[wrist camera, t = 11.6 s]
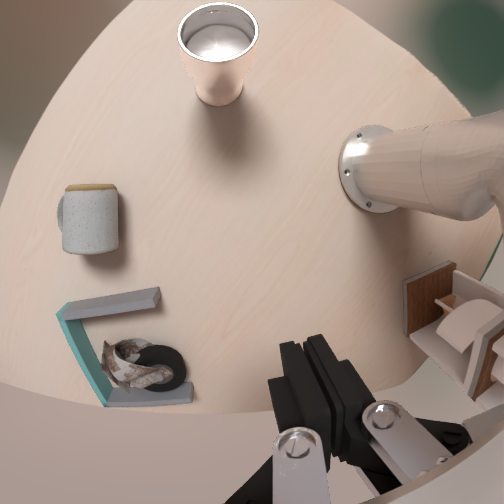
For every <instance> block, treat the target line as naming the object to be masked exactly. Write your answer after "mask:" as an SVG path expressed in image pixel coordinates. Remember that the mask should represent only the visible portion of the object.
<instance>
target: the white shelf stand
mask: <svg viewBox="0 0 504 504" xmlns="http://www.w3.org/2000/svg"><path fill="white" fill-rule="evenodd" d="M403 301H404V334H406V335H407V336H408V337H409V338H410V339H411V340H412V341H413V342H414V343H415V344H416V345H417V346H418V347H419V348H420V349H422V350H423V351H424V352H425V353H426V354H427V355H428V356H429V357H430V358H431V359H432V360H433V361H434V362H435V363H436V364H437V365H438V366H439V367H440V368H441V369H442V370H443V371H444V372H445V373H446V374H448V376H449V377H450V378H451V379H453V380H454V381H455V382H456V383H457V385H459V386H460V388H462V390H463V391H464V392H466V394H467V395H468V396H469V397H470V398H471V399H472V400H473V401H474V402H475V403H476V404H477V405H478V406H479V407H480V408H481V409H482V410H483V411H484V412H485V411H487V410H490V409H492V408H494V407H496V406H498V405H501V404H504V294H503V293H501V292H499V291H498V290H496V289H494V288H492V287H490V286H488V285H486V284H484V283H482V282H480V281H478V280H476V279H474V278H472V277H470V276H468V275H466V274H464V273H462V272H460V271H458V270H456V263H454V262H451V261H447V262H445V263H443V264H441V265H438V266H436V267H434V268H432V269H430V270H428V271H425V272H423V273H421V274H419V275H416V276H414V277H412V278H410V279H407V280H405V281H403Z"/></svg>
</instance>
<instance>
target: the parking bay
mask: <svg viewBox="0 0 504 504" xmlns="http://www.w3.org/2000/svg"><path fill="white" fill-rule="evenodd" d="M160 296H161V292H160V289H159V287H155V288H150V289H144V290H139V291H133V292H127V293H122V294H116V295H110V296H104V297H99V298H93V299H87V300H81V301H75V302H69V303H67V304H66V305H64V306H63V307H62V308H61V309H60V310H59V311H58V312H57V313H56V316H57V318H58V321H59V323H60V325H61V327H62V330H63V332H64V334H65V336H66V339H67V341H68V343H69V345H70V347H71V349H72V351H73V353H74V355H75V357H76V359H77V361H78V363H79V365H80V367H81V369H82V370H83V372H84V374H85V376H86V378H87V379H88V381H89V383H90V385H91V386H92V388H93V390H94V391H95V393H96V395H97V396H98V398H99V400H100V401H101V403H102V404H103V406H104V407H148V406H165V405H177V404H188V403H192V400H193V389H194V386H193V384H192V382H185V383H182V384H181V385H180V386H179V387H177V388H175V389H173V390H170V391H167V392H152V391H148V390H146V389H144V388H142V389H139V388H136V387H130V395H128V394H127V393H126V392H125V391H124V390H122V389H121V388H113V387H112V385H111V383H110V382H109V380H108V378H107V376H106V374H105V373H104V372H103V371H102V370H101V364H100V362H99V360H98V358H97V356H96V354H95V352H94V350H93V348H92V346H91V344H90V342H89V339H88V337H87V335H86V333H85V330H84V328H83V326H82V323H81V321H80V319H79V318H87V317H94V316H101V315H108V314H115V313H122V312H128V311H135V310H141V309H147V308H153V307H156V305H157V303H158V300H159V298H160Z"/></svg>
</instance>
